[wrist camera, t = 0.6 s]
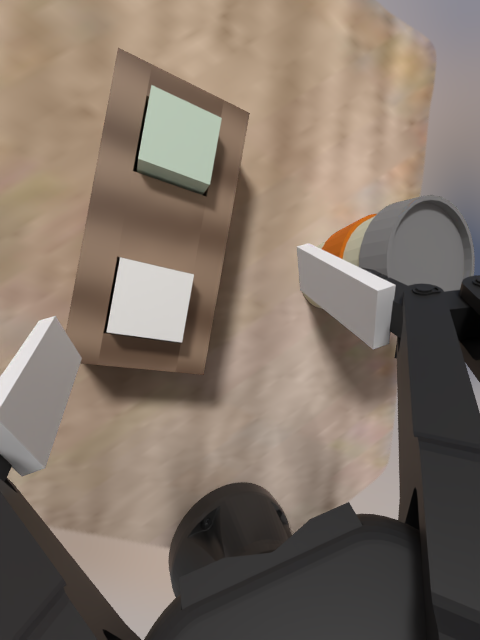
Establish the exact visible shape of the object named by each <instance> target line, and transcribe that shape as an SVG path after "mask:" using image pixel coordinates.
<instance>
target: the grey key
mask: <svg viewBox="0 0 480 640" xmlns="http://www.w3.org/2000/svg"><path fill="white" fill-rule="evenodd" d="M193 278H194V274H190V273H185V272H181V271H177V270H172V269H168V268H164V267H160V266H155V265H151V264H147V263H142V262H138V261H134V260H130V259H125V258H121V257H120V261H119V266H118V272H117V277H116V283H115V288H114V294H113V299H112V305H111V310H110V316H109V321H108V327H107V332H108V333H115V334H122V335H130V336H137V337H145V338H152V339H159V340H167V341H174V342H181V343H182V340H183V334H184V328H185V323H186V317H187V312H188V306H189V300H190V295H191V289H192V283H193Z"/></svg>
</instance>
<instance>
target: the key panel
mask: <svg viewBox="0 0 480 640" xmlns="http://www.w3.org/2000/svg"><path fill="white" fill-rule="evenodd" d="M151 85H153V86H155V87H157V88H159V89H161V90H163V91H165V92H168V93H170V94H172V95H174V96H176V97H178V98H180V99H182V100H185V101H187V102H189V103H191V104H193V105H195V106H197V107H199V108H202V109H204V110H206V111H208V112H210V113H212V114H214V115H216V116H219V117H221V118H222V119H221V125H220V131H219V136H218V142H217V148H216V153H215V159H214V165H213V170H212V176H211V181H210V185H209V187H208V188H207V190H206V191H205V192H204V194H203V195H201V194H198V193H195V192H192V191H189V190H186V189H183V188H180V187H178V186H175V185H172V184H169V183H166V182H163V181H160V180H158V179H155V178H152V177H149V176H146V175H143V174H140V173H137V172H136V167H137V161H138V156H139V150H140V145H141V139H142V134H143V129H144V123H145V118H146V112H147V107H148V101H149V96H150V90H151ZM249 114H250V113H248V112H246V111H244V110H242V109H240V108H238V107H236V106H234V105H232V104H230V103H228V102H226V101H224V100H222V99H220V98H218V97H216V96H214V95H212V94H210V93H208V92H206V91H204V90H202V89H200V88H198V87H196V86H194V85H192V84H190V83H188V82H186V81H184V80H182V79H180V78H178V77H176V76H174V75H172V74H170V73H168V72H166V71H164V70H162V69H160V68H158V67H156V66H154V65H152V64H150V63H148V62H146V61H144V60H142V59H140V58H138V57H136V56H134V55H132V54H130V53H128V52H126V51H124V50H122V49H120V48H118V51H117V57H116V62H115V68H114V73H113V79H112V84H111V89H110V95H109V100H108V106H107V111H106V117H105V122H104V128H103V133H102V138H101V144H100V149H99V155H98V160H97V166H96V171H95V177H94V182H93V187H92V193H91V198H90V204H89V209H88V215H87V220H86V226H85V231H84V236H83V242H82V247H81V253H80V258H79V264H78V269H77V275H76V280H75V285H74V291H73V296H72V302H71V307H70V313H69V318H68V324H67V329H66V334H67V335H68V337H69V338H70V340H71V342H72V343H73V345H74V346H75V348H76V350H77V351H78V353H79V354H80V356H81V358H82V359H81V362H80V363H83V364H94V365H104V366H115V367H126V368H136V369H147V370H158V371H168V372H179V373H190V374H200V375H204V369H205V363H206V358H207V352H208V346H209V341H210V335H211V329H212V324H213V318H214V312H215V307H216V301H217V295H218V290H219V284H220V278H221V273H222V267H223V261H224V256H225V250H226V244H227V239H228V233H229V227H230V221H231V216H232V210H233V204H234V199H235V193H236V187H237V182H238V176H239V170H240V165H241V159H242V153H243V148H244V142H245V136H246V131H247V125H248V119H249ZM120 257H121V258H125V259H130V260H134V261H138V262H142V263H147V264H151V265H155V266H160V267H164V268H168V269H172V270H177V271H181V272H185V273H190V274H194V278H193V283H192V289H191V295H190V300H189V306H188V312H187V317H186V323H185V328H184V334H183V340H182V343H181V342H174V341H167V340H159V339H152V338H145V337H137V336H130V335H122V334H115V333H108V332H107V326H108V321H109V315H110V310H111V304H112V299H113V293H114V288H115V282H116V277H117V271H118V266H119V261H120Z"/></svg>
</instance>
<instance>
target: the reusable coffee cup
mask: <svg viewBox="0 0 480 640" xmlns="http://www.w3.org/2000/svg"><path fill="white" fill-rule="evenodd" d="M316 247H318V248H320V249H322V250H324V251H326V252H328V253H330V254H332V255H335V256H337V257H339V258H341V259H343V260H345V261H347V262H349V263H351V264H353V265H355V266H357V267H359V268H367V269H372V270H375V271H377V272H379V273H382V274H384V275H386V276H388V278H389V277H390V278H392V279H395V280H397V281H399V282H401V283H403V284H405V285H408V286H409V285H413V284H421V283H423V284H431V285H435V286H438V287H440V288H442V289H443V291H444V292H445V291H453V290H460V288H461V284H462V281H463V279H464V278H467V277H470V276H473V275H474V262H475V257H474V246H473V242H472V237H471V234H470V231H469V228H468V225H467V223H466V221H465V219H464V218H463V216H462V214H461V213H460V212H459V210H458V209H457V208H456V207H455V206H454V205H453V204H452V203H450V201H448V200H446V199H444V198H442V197H440V196H434V195H427V196H421V197H417V198H413V199H409V200H405V201H401V202H397V203H393V204H391V205H389V206H386V207H385V208H384V209H382V210H381V211H380V212H379V213H377V214H372V215H368V216H366V217H364V218H362V219H360V220H358V221H356V222H354V223H352V224H351V225H349V226H347V227H345V228H343V229H341V230H339V231H338V232H336V233H335V234H333V235H332V236H331V237H330V238H329V239H328V240H327V241H326V242H324V243H322V244H320V245H318V246H316ZM299 283H300V281H299ZM302 293H303V292H302ZM303 295H304V296H305V298H306V299H307V300H308V301H309V303H311V304H312V305H313V306H315V307H318V308H321V309H323V308H322V307H320V306H319V305H318V304H317V303H316V302H314V301H313V300H312V299H311V298H309V297H308V296H307V295H306V294H304V293H303Z"/></svg>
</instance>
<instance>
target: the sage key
mask: <svg viewBox="0 0 480 640" xmlns="http://www.w3.org/2000/svg"><path fill="white" fill-rule="evenodd" d="M221 119H222V118H221V117H219V116H216V115H214V114H212V113H210V112H208V111H206V110H204V109H202V108H199V107H197V106H195V105H193V104H191V103H189V102H187V101H185V100H182V99H180V98H178V97H176V96H174V95H172V94H170V93H168V92H165V91H163V90H161V89H159V88H157V87H155V86H153V85H151V90H150V96H149V101H148V107H147V112H146V118H145V123H144V129H143V134H142V140H141V145H140V151H139V156H138V165H137V173H140V174H143V175H146V176H149V177H152V178H155V179H158V180H160V181H163V182H166V183H169V184H172V185H175V186H178V187H180V188H183V189H186V190H189V191H192V192H195V193H198V194H201V195H203V194H204V192H205V191H206V190H207V188H208V187H209V185H210V181H211V176H212V170H213V165H214V159H215V153H216V148H217V142H218V136H219V131H220V125H221Z"/></svg>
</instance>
